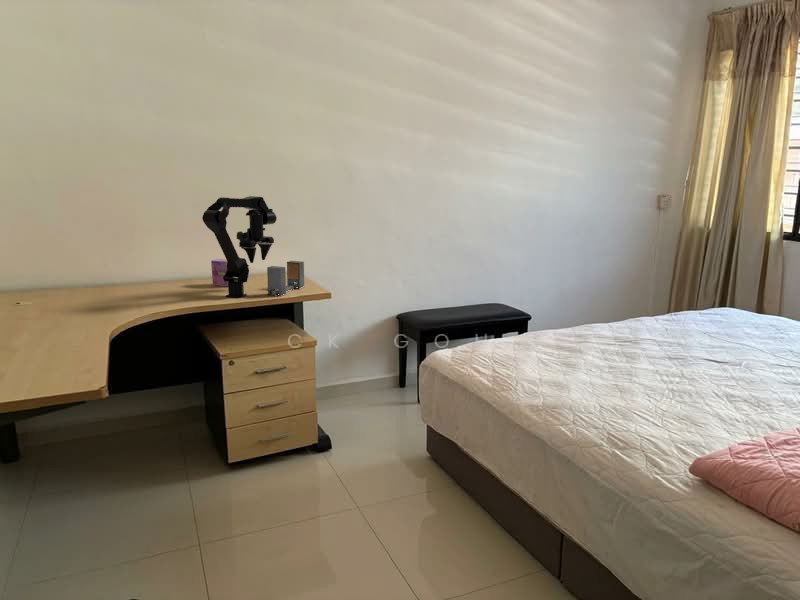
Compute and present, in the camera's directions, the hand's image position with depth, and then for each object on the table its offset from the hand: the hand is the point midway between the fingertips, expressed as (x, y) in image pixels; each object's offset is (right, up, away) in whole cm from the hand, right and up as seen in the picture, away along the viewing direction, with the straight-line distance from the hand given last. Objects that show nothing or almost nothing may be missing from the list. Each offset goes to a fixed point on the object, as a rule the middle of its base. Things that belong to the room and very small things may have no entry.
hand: (257, 261), depth 263 cm
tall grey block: (+10, -15, -5) cm, 18 cm away
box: (-18, -10, +13) cm, 24 cm away
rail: (+13, -13, +4) cm, 18 cm away
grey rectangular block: (+15, -11, +10) cm, 21 cm away
